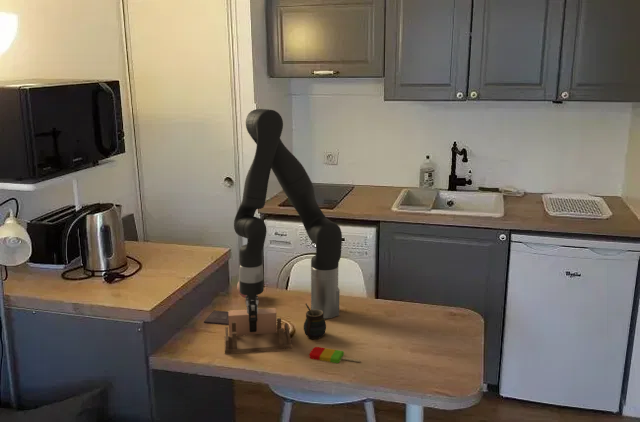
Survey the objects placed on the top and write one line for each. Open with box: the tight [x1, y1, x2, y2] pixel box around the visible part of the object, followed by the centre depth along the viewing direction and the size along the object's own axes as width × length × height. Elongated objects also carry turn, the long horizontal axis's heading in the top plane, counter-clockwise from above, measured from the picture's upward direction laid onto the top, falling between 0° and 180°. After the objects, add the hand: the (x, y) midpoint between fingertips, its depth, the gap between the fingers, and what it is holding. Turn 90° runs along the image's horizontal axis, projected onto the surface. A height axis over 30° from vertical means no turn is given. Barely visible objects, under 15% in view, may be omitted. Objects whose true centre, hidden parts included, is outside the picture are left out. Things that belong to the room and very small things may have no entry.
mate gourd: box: [303, 303, 327, 340], centre depth 187 cm, size 7×8×10 cm
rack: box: [224, 317, 293, 355], centre depth 181 cm, size 20×9×6 cm, turn 99°
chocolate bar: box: [203, 310, 229, 326], centre depth 199 cm, size 9×1×18 cm
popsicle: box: [309, 346, 361, 364], centre depth 174 cm, size 6×15×2 cm, turn 72°
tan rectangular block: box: [227, 307, 278, 336], centre depth 190 cm, size 15×4×7 cm, turn 98°
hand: (252, 326), depth 190 cm, fingers open, 6 cm apart
